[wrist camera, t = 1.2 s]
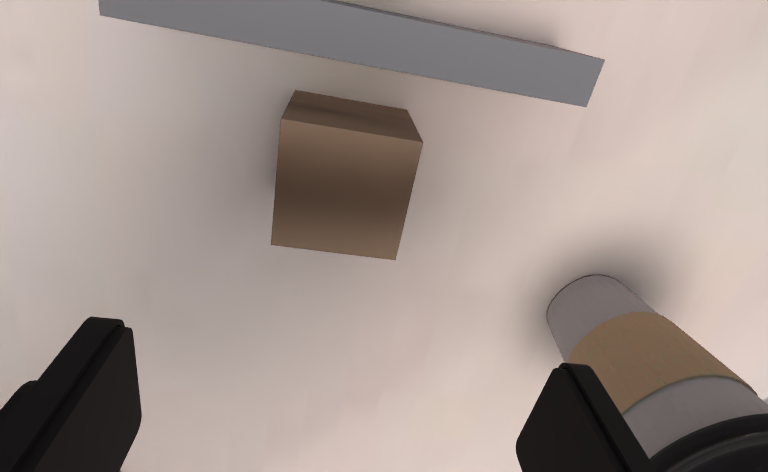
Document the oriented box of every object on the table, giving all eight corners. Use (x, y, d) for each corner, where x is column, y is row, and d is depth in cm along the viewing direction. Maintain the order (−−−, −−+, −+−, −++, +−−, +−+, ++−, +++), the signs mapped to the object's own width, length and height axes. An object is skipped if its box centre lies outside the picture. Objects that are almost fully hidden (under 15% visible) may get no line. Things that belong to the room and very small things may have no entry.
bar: (542, 86, 24) (586, 107, 20) (151, 10, 21) (99, 15, 17) (556, 46, 23) (605, 59, 19) (148, -39, 20) (93, -47, 16)
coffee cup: (503, 347, 33) (606, 580, 20) (556, 240, 29) (730, 446, 16) (614, 363, 35) (775, 587, 22) (679, 264, 31) (928, 468, 17)
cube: (385, 209, 27) (395, 261, 22) (286, 195, 26) (270, 246, 21) (406, 109, 24) (422, 142, 19) (295, 89, 23) (280, 118, 18)
